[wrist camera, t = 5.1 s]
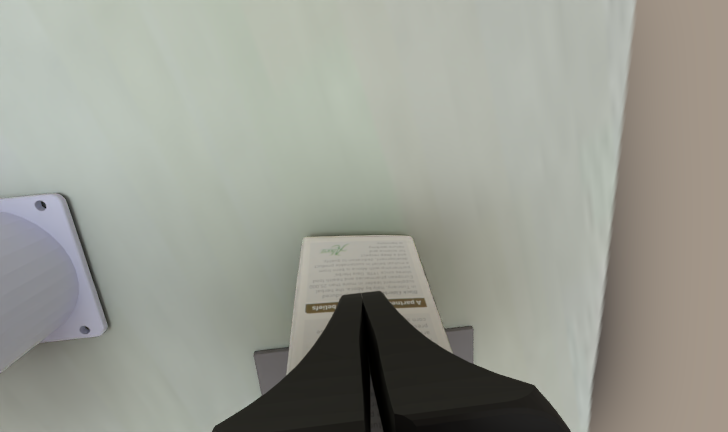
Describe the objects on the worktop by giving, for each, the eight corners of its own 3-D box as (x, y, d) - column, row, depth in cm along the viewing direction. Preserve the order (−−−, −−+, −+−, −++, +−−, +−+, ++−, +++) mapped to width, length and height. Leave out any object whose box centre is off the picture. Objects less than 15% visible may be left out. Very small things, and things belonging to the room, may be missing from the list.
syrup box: (299, 233, 18) (224, 729, 6) (416, 231, 19) (574, 692, 6) (306, 316, 21) (265, 764, 9) (407, 313, 22) (503, 738, 9)
